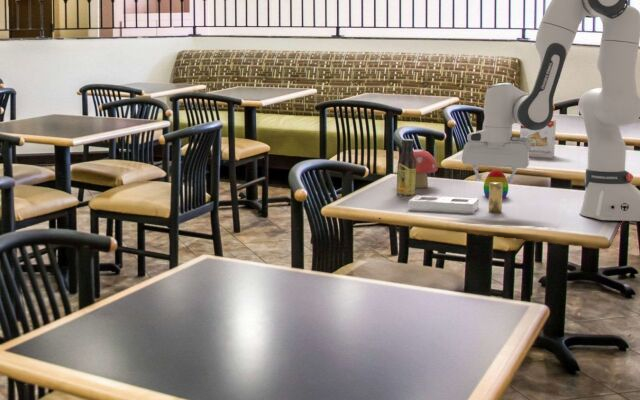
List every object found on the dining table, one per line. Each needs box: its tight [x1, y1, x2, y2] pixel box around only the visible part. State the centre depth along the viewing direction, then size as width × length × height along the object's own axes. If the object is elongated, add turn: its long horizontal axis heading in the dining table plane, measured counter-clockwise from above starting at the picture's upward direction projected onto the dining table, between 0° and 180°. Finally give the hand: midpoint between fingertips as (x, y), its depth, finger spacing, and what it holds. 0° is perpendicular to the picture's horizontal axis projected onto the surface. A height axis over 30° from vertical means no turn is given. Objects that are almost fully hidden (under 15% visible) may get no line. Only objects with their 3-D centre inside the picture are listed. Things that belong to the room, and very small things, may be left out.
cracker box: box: [519, 119, 557, 159], centre depth 396 cm, size 14×6×21 cm, turn 67°
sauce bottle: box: [396, 138, 416, 197], centre depth 312 cm, size 7×6×20 cm
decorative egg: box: [483, 169, 509, 199], centre depth 312 cm, size 8×8×10 cm
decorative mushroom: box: [413, 148, 438, 189], centre depth 327 cm, size 13×13×15 cm
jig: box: [408, 194, 479, 215], centre depth 292 cm, size 20×12×3 cm, turn 73°
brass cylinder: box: [488, 182, 503, 214], centre depth 287 cm, size 4×4×9 cm
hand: (493, 181), depth 286 cm, fingers open, 8 cm apart
